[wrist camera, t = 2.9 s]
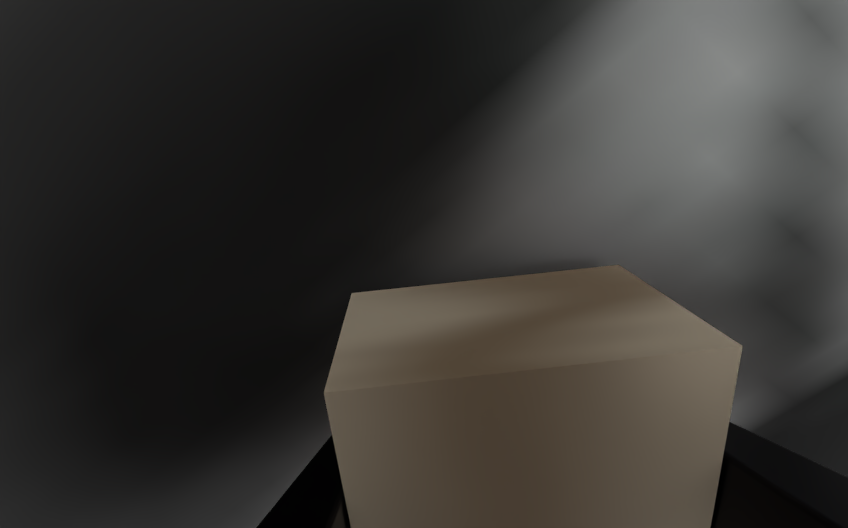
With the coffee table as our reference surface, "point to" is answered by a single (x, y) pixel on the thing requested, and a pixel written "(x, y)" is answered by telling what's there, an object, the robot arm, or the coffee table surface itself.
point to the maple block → (530, 404)
